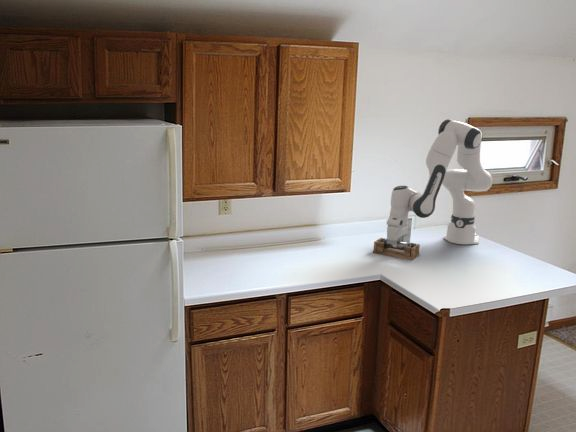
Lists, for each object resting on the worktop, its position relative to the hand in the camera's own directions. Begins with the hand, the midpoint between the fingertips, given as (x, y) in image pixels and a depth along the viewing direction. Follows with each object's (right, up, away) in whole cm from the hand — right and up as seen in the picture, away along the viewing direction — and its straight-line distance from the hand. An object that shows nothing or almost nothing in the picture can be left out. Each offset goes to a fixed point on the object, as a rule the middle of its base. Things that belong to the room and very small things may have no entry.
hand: (396, 245), depth 287 cm
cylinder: (0, -2, 0) cm, 2 cm away
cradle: (0, -4, +1) cm, 4 cm away
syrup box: (+7, 0, +20) cm, 21 cm away
